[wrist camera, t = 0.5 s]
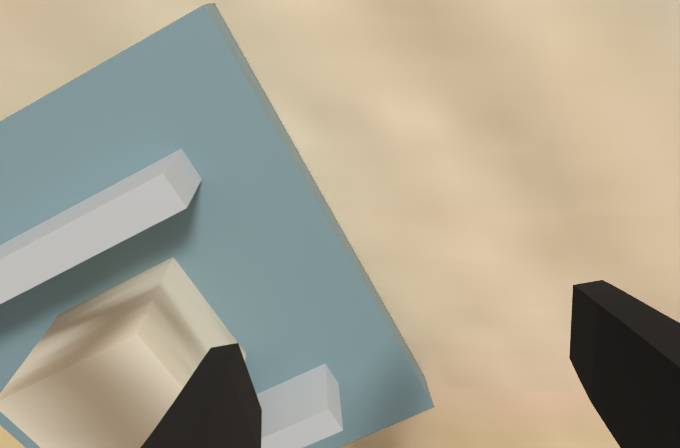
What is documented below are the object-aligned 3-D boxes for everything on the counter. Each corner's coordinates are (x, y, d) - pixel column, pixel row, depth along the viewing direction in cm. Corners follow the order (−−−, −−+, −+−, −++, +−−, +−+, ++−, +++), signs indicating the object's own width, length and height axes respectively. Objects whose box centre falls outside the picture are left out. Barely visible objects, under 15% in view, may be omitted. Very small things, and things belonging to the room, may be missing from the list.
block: (140, 402, 21) (101, 503, 17) (58, 314, 19) (-8, 404, 15) (246, 353, 20) (232, 445, 16) (173, 256, 18) (136, 334, 14)
